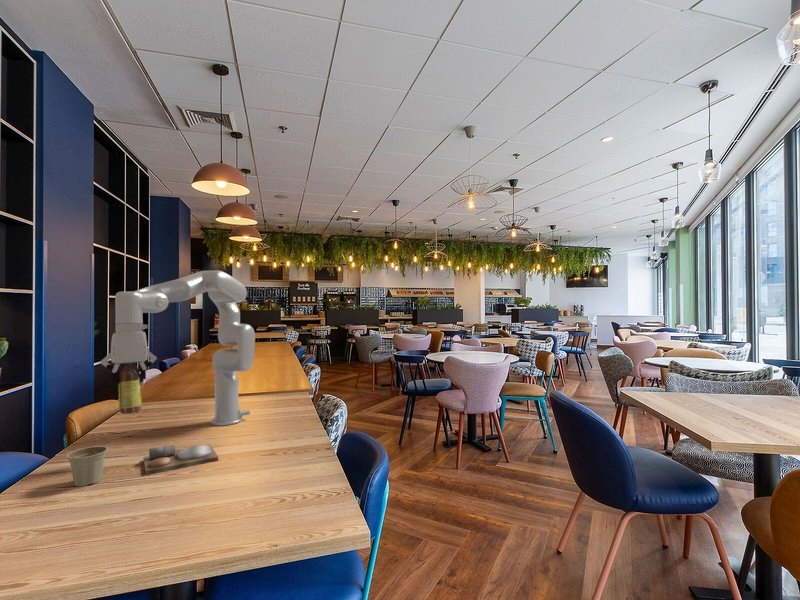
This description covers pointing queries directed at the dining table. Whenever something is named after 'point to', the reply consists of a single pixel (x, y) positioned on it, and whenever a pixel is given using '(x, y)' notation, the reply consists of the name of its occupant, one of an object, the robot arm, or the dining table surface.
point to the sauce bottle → (129, 388)
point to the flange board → (177, 458)
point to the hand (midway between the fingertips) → (129, 382)
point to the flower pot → (87, 464)
